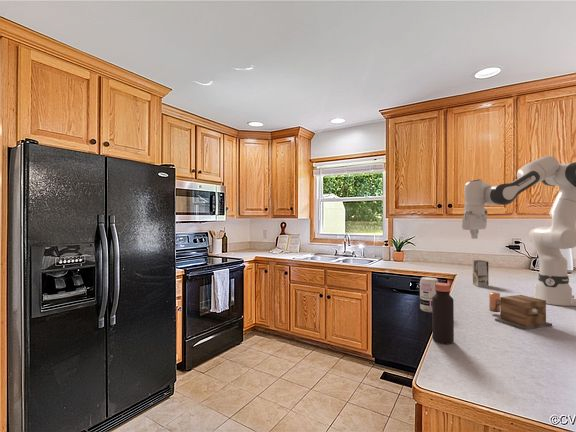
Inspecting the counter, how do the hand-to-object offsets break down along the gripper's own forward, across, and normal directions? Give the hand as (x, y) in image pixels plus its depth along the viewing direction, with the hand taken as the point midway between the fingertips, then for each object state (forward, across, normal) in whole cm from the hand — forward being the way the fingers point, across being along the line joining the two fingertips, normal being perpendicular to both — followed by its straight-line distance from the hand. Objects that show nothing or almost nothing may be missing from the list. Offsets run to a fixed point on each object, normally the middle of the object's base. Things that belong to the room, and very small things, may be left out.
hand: (474, 238), depth 161 cm
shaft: (+32, -15, -21) cm, 41 cm away
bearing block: (+33, -17, -25) cm, 45 cm away
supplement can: (+33, -30, +8) cm, 46 cm away
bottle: (+33, -62, -14) cm, 72 cm away
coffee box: (+33, +49, +16) cm, 61 cm away
